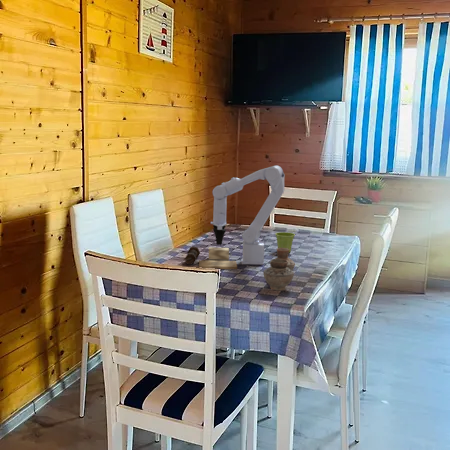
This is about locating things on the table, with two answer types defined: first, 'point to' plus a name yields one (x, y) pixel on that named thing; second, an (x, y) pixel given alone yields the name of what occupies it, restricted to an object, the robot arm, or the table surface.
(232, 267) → the board
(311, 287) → the table surface
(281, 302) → the table surface
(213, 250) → the block
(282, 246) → the plant pot
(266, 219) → the robot arm
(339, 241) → the table surface
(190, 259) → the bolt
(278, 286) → the pottery
